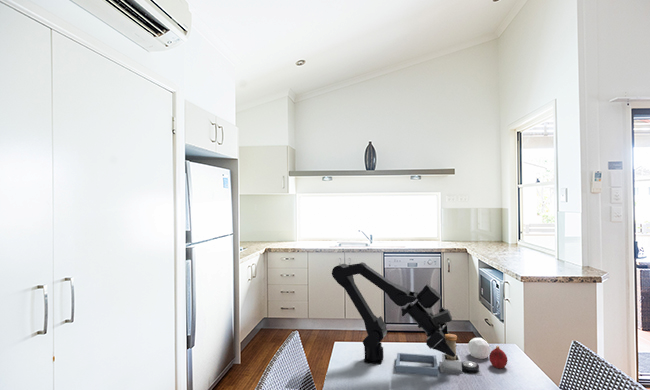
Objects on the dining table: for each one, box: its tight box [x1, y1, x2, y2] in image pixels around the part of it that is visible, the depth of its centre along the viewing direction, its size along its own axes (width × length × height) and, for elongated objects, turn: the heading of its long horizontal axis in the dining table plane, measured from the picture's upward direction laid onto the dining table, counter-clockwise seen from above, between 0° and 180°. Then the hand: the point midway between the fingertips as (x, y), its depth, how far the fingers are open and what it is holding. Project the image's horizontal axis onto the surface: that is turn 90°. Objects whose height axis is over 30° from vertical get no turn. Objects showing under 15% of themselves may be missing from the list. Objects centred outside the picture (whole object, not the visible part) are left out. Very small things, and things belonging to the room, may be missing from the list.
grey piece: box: [438, 353, 482, 376], centre depth 128 cm, size 13×9×4 cm
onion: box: [488, 345, 508, 369], centre depth 129 cm, size 6×6×8 cm
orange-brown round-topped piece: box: [445, 333, 458, 360], centre depth 129 cm, size 4×4×11 cm
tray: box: [395, 352, 439, 376], centre depth 130 cm, size 14×12×3 cm
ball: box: [467, 337, 491, 360], centre depth 139 cm, size 8×8×8 cm
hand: (455, 351), depth 128 cm, fingers open, 9 cm apart
